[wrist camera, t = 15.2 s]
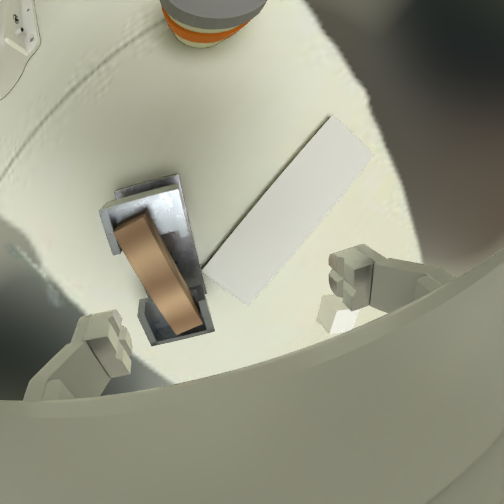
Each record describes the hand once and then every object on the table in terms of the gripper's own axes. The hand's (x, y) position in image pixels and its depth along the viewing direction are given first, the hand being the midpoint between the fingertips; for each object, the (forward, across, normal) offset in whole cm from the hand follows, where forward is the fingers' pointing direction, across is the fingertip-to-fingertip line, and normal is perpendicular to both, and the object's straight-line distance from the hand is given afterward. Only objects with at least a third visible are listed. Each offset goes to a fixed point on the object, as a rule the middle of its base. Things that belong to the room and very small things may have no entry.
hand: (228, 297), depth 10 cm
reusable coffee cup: (+34, -6, -24) cm, 42 cm away
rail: (+25, +6, +10) cm, 28 cm away
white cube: (+34, -24, +33) cm, 53 cm away
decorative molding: (+35, -15, +9) cm, 39 cm away
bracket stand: (+34, +6, +10) cm, 36 cm away
